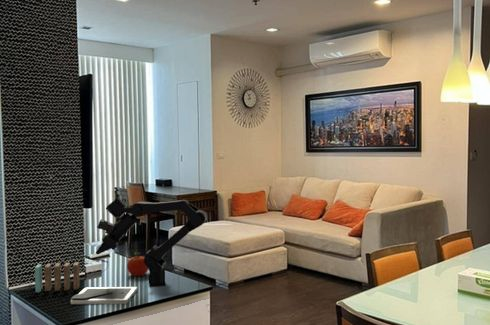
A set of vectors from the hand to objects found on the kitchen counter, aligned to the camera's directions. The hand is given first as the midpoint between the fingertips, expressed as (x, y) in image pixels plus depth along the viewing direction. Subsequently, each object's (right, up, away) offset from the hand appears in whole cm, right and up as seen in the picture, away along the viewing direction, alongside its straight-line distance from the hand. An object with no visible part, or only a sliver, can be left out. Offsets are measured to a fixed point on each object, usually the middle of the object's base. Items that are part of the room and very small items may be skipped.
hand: (96, 253), depth 194 cm
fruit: (+13, -13, +17) cm, 25 cm away
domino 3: (-15, -14, -3) cm, 20 cm away
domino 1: (-22, -14, -4) cm, 26 cm away
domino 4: (-11, -14, -2) cm, 18 cm away
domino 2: (-18, -14, -3) cm, 23 cm away
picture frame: (+8, -15, -13) cm, 21 cm away
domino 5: (-8, -14, -1) cm, 16 cm away
